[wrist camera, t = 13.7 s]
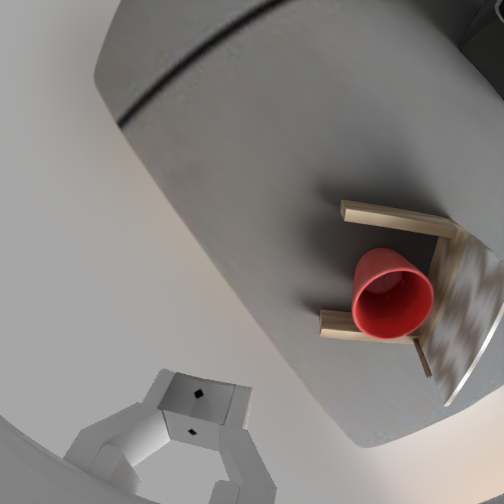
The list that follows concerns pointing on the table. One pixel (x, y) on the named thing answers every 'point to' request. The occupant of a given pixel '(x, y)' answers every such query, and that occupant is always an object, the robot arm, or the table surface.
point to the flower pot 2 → (487, 42)
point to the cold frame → (439, 296)
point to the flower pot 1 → (389, 295)
